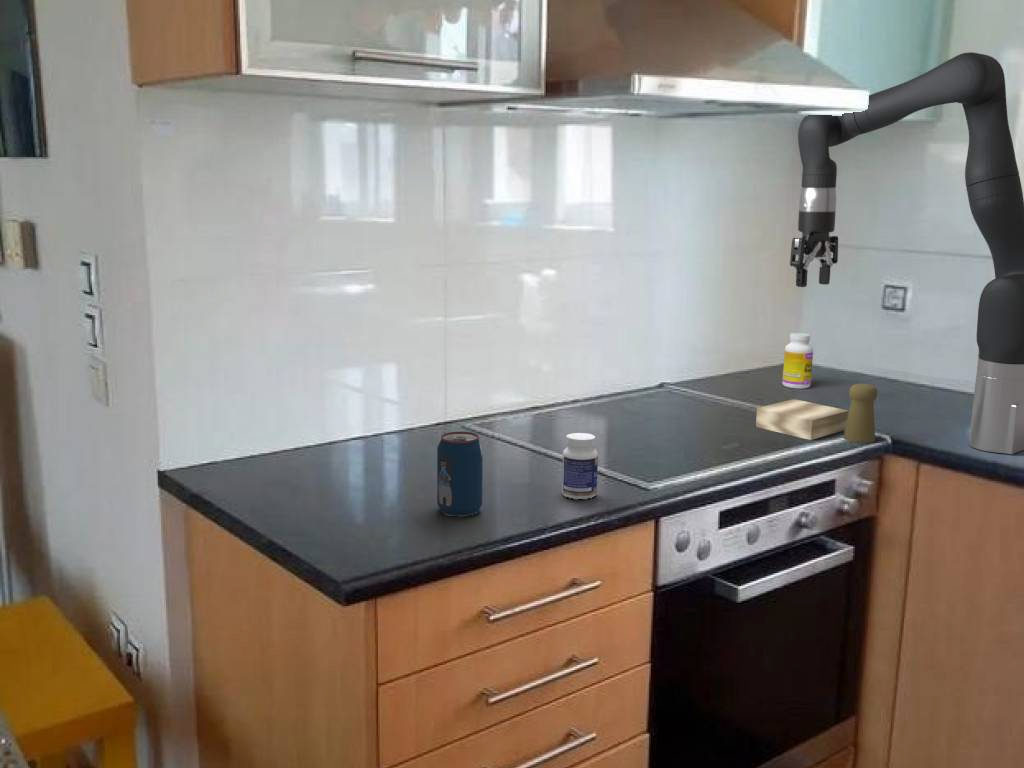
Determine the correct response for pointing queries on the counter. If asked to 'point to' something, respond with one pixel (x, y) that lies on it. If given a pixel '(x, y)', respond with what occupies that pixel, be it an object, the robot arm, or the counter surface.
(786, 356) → the supplement bottle
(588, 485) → the pill bottle
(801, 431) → the block
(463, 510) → the soda can
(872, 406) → the cork
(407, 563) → the counter surface
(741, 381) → the counter surface
